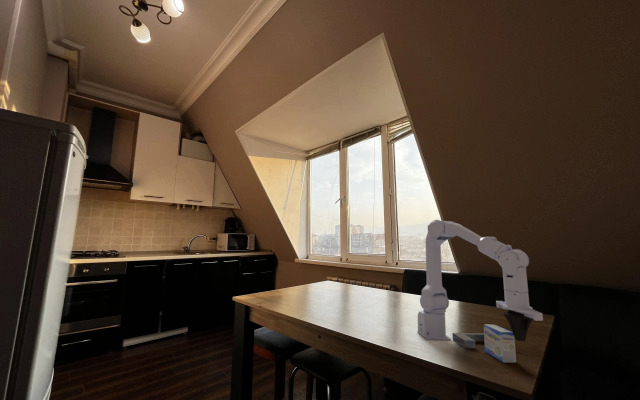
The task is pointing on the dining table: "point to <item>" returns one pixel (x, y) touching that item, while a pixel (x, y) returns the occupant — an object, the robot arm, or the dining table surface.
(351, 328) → the dining table surface
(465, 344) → the grey flat block
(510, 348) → the medicine box
